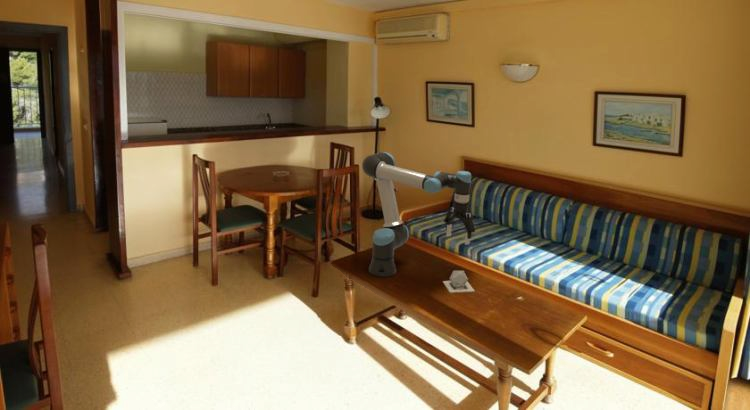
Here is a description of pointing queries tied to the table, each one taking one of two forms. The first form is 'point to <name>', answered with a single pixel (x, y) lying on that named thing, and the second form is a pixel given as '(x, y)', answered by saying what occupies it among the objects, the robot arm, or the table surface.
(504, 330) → the table surface
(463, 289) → the board
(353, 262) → the table surface
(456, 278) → the die
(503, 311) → the table surface
